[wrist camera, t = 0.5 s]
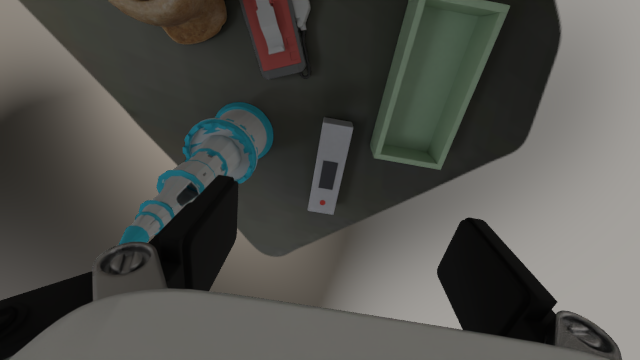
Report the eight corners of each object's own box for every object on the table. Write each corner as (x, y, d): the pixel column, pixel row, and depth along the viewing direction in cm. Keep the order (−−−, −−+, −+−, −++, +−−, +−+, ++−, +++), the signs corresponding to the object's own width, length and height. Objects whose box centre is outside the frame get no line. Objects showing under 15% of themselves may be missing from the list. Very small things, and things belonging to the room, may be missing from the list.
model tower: (202, 113, 42) (-27, 231, 16) (258, 93, 40) (106, 190, 14) (230, 167, 46) (88, 332, 20) (282, 151, 44) (202, 311, 18)
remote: (323, 116, 41) (322, 122, 38) (352, 122, 41) (353, 128, 38) (309, 200, 49) (307, 211, 46) (333, 204, 49) (333, 215, 46)
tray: (409, -4, 33) (422, -12, 29) (485, 11, 34) (510, 5, 29) (369, 145, 43) (373, 158, 38) (428, 155, 43) (440, 169, 38)
